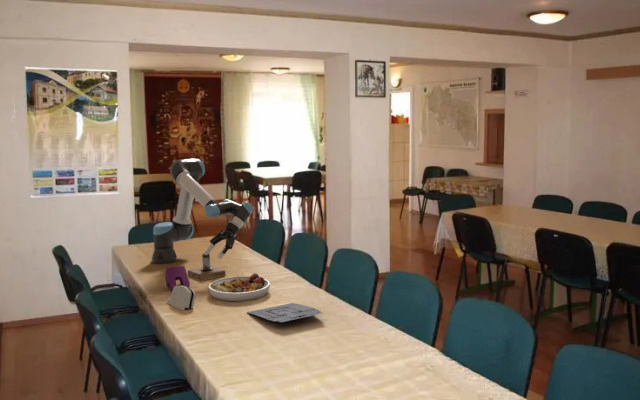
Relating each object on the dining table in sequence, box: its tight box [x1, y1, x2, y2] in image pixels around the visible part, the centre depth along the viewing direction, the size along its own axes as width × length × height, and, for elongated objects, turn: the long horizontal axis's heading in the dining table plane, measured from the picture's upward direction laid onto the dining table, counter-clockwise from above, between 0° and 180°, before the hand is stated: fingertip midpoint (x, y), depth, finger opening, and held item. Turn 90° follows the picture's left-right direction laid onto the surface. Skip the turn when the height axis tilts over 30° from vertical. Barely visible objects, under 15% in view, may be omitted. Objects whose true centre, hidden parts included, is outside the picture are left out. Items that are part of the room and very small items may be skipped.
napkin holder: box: [166, 285, 196, 311], centre depth 272 cm, size 17×5×10 cm, turn 42°
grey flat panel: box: [246, 302, 323, 323], centre depth 254 cm, size 24×30×4 cm
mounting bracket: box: [164, 265, 191, 292], centre depth 300 cm, size 10×9×19 cm
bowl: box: [208, 272, 271, 302], centre depth 289 cm, size 30×30×8 cm
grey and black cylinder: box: [201, 253, 211, 272], centre depth 324 cm, size 4×4×12 cm
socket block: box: [187, 265, 226, 281], centre depth 324 cm, size 15×15×3 cm
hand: (212, 255), depth 325 cm, fingers open, 13 cm apart
